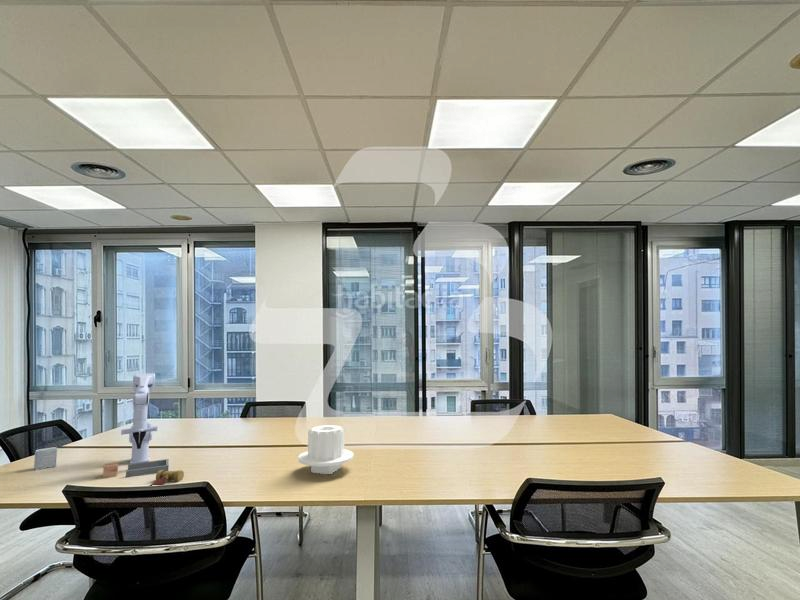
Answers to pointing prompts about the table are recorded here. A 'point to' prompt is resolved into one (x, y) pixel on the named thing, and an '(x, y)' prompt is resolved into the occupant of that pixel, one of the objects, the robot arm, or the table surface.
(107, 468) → the cube
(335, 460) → the ribbed cylinder on disc
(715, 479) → the table surface
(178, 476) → the gavel
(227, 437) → the table surface
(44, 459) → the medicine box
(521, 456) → the table surface
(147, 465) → the grey u-shaped frame
